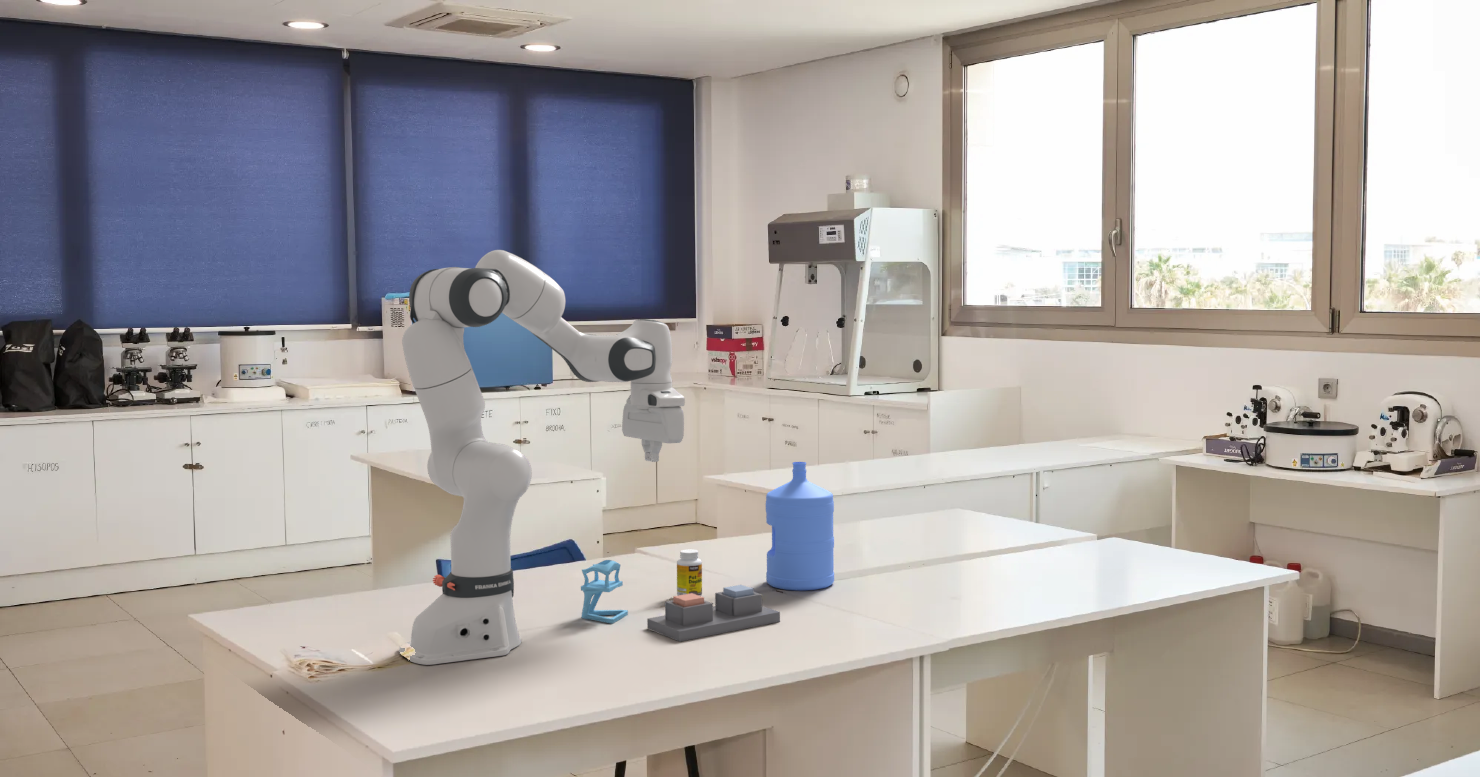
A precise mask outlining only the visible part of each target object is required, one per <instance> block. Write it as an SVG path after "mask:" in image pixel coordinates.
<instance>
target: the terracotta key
mask: <svg viewBox="0 0 1480 777" xmlns="http://www.w3.org/2000/svg"><path fill="white" fill-rule="evenodd" d="M704 600H705V597H704V596H703V595H701V596H699V595H696V594H693V593H690V594H685V595H679V596H677V595H674V596H673V603H675V604H678V605H680V606H683V607H688V606H694V605H699V604H704Z"/></svg>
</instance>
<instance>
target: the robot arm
mask: <svg viewBox="0 0 1480 777" xmlns="http://www.w3.org/2000/svg"><path fill="white" fill-rule="evenodd" d="M409 288H410V289H409V292H408V293H409V294H408V295H409V296H408V303H409V309H410V311H409V318H410V320H411V322H412V324H411V325H410V326H408V327H407V329H406V330H405V331H404V333H403V334H402V339H401V343H402V349H403V350H402V351H403V356H404V359H405V363H406V367H407V371H408V374H409V377H410V381H411V383H412V385H413V390H414V391H415V394H416V396H417V398H418V402H419V404H420V408H421V409H422V413H423V416H424V418H425V419H426V420H425V421H426V424H427V427H428V432H429V439H430V448H431V452H430V454H429V456H428V460H427V463H426V464H427V465H426V467H427V474H428V477H429V478H430V480H431V482H432V483H433V484H434V485H436V486H437V487H438V488H439V489H441V490H443V491H444V492H446V493H448V494H450V495H453V496H457V497H462V498H463V505H462V510H461V514H460V517H459V520H458V522H457V524H455V525H454V526H453V528H452V530H451V532H450V536H449V537H450V564H451V565H450V568H451V570H450V572H449V574H447V576H445V577H444V576H442V575H441V574H436V575H434V577H433V578H432V583H433V584H434V585H435V586H437V587H439V588H441V590H442V592H441V593H442V594H440V596H438V597H437V598H436V599H435V600H433V602H431V604H429V605H428V606H427V607H426V608H425V609H423V610H422V611H421V612H420V613H419V614H417V615H416V616H415V618H414V621H413V624H412V629H411V636H410V641H408V642H406V643H408V644H410V646H411V647H413V648H414V649H415V652H416V653H415V655H412V656H410V661H409V662H412V663H414V664H419V665H427V666H429V665H430V666H431V665H438V664H446V663H454V662H462V661H469V660H477V659H485V658H493V657H501V656H505V655H508V654H510V651H511V650H512V649H515V648H516V647H518V646H520V645H521V643H522V639H521V636H520V633H519V629H518V626H517V621H516V617H515V610H514V600H513V598H514V593H515V590H514V589H515V580H514V570H513V569H512V568H511V567H512V566H511V532H512V531H511V530H512V525H513V519H514V514H515V512H516V508H517V505H518V503H519V500H520V499H521V497H522V496H524V495H525V493H526V492H527V491H528V489H529V487H530V485H531V482H532V478H533V477H532V476H533V472H532V466H531V463H530V460H529V459H528V458H527V456H526V455H525V454H523V453H522V452H520V451H519V450H517V449H515V448H513V447H511V446H510V445H508V444H503V443H496V442H490V441H488V440H486V438H485V436H484V434H483V427H482V416H483V413H484V412H485V408H486V403H485V402H486V401H485V398H484V396H483V393H482V390H481V388H480V386H479V383H478V380H477V377H476V374H475V372H474V369H473V367H472V364H471V361H470V358H469V357H468V355H467V353H466V350H465V345H464V344H465V343H464V333H465V328H480V327H483V326H487V325H489V324H491V323H493V322H494V321H496V320H497V319H498V318H499V317H500V315H501V314H503V315H505V316H506V317H508V318H509V320H512V321H513V322H515V323H516V324H518V325H520V326H521V327H523V328H525V329H526V330H528V331H529V332H530V333H531V334H532V335H534V337H536V338H537V339H539V340H540V341H541V342H542V343H544V344H545V345H546V346H547V347H549V348H550V349H551V350H553V351H554V352H555V353H556V354H558V355H559V356H560V357H561V358H562V359H563V360H564V362H565V363H566V364H567V366H568V367H569V370H570V371H571V372H572V373H573V375H574V376H575V377H577V378H576V379H579V380H580V381H583V382H585V383H596V382H606V383H607V382H608V383H628V382H630V394H629V395H628V398H627V399H626V402H625V404H624V406H623V409H622V422H621V423H622V424H621V425H622V426H621V431H622V435H623V436H624V437H628V438H633V439H639V440H641V447H642V450H643V452H644V461H646V462H652V463H657V462H659V461H660V452H661V450H662V447H663V444H680V443H682V441H683V439H684V434H685V433H684V432H685V414H684V413H685V412H684V409H683V408H682V407H684V406H685V403H686V398H685V396H684V394H681V393H680V392H679V391H677V389H676V388H674V387H673V379H672V373H671V369H672V364H673V344H672V343H673V342H672V334H671V331H670V329H669V328H670V327H669V326H668V325H667V324H666V323H665V322H663V321H660V320H655V319H648V318H639V319H635V320H633V323H632V324H631V325H630V326H629V327H628V328H626V329H625V330H622V332H618V333H617V334H616V335H597V334H589V333H583V332H581V331H579V330H577V329H576V328H575V327H574V326H573V325H572V324H570V323H569V322H568V321H567V320H566V319H564V318H563V317H562V316H563V315H564V312H565V308H566V294H565V291H564V289H563V288H562V287H561V286H560V284H558V283H557V281H555V279H553V278H552V277H551V276H550V275H549V274H547V273H545V272H544V271H543V270H541V269H540V268H539V267H537V266H536V265H534V264H532V263H530V262H529V261H527V260H525V259H523V258H522V257H520V256H518V255H516V254H514V253H511V252H508V251H506V250H503V249H495V250H491V251H489V252H487V253H486V254H485V255H483V256H482V257H481V258H480V259H479V260H478V262H477V263H476V264H475V267H472V268H471V267H470V268H467V267H458V266H451V267H442V268H434V269H433V268H432V269H430V270H426V271H424V272H423V273H421V274H419V275H418V276H417V277H416V278H415V279H414V280H413V281H412V284H411V285H410V287H409ZM398 649H399V650H398V653H399V652H404V651H405V648H401V647H400V646H399V648H398Z"/></svg>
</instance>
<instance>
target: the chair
mask: <svg viewBox="0 0 1480 777" xmlns="http://www.w3.org/2000/svg"><path fill="white" fill-rule="evenodd" d="M620 570H621V564H620V563H619V562H618V561H615V560H612V559H605V560H602V561H599V562H598V563H593V564H592V565H591V566H590V567H589V566H588V567H587V568H584V569H581V572H582V574H583V578H584V584H583V585H581V586H580V591H582V592H583V595H584V596H583V604H582V605H583V606H582V612H581V619H586V620H591V621H596V622H599V623H600V622H601V623H607V624H615V623H616V622H618V621H620V620H621V619H623V618H625V617H626V616H628V614H629V611H628V609H627V610H626V609H600V610H599V609H597V610H596V606H597V604H598V601H599V600H600V597H601V596H602V594H603V593H611V592H613V591H614V590H615V589H617V588H620V587H622V586H624V584H623V581H622V580H620V577H619V573H620ZM614 571H615V573H614V580H610V578H609V577H610V574H612V572H614ZM591 572H594V579H593V580H591V581H589V577H588V575H587V574H589V573H591ZM599 573H601V574H603V575H605V578H604V580H603V579H600V578H599V577H600V576H599ZM606 616H607V617H606ZM608 616H613V617H608Z"/></svg>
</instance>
